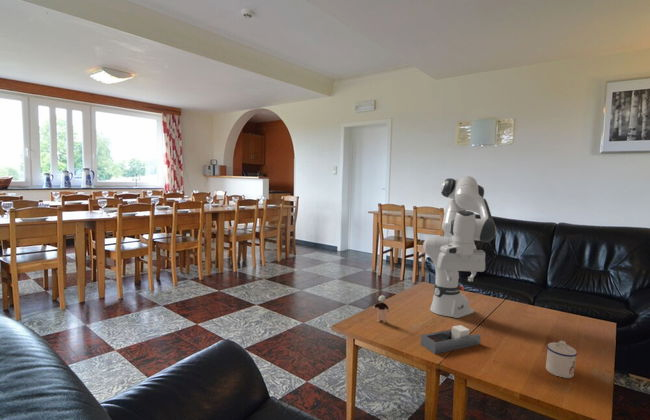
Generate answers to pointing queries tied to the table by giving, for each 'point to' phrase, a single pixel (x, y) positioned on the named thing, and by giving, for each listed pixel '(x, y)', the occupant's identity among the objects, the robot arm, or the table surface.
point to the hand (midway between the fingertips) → (459, 280)
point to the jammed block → (459, 331)
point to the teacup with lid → (561, 359)
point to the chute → (447, 341)
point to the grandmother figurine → (381, 309)
